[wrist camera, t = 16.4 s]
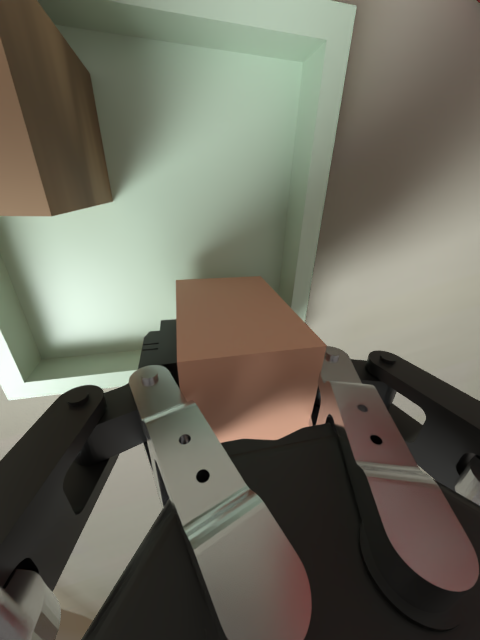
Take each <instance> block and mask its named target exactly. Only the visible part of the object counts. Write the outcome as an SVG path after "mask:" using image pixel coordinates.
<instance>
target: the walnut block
mask: <svg viewBox="0 0 480 640" xmlns="http://www.w3.org/2000/svg"><path fill="white" fill-rule="evenodd" d="M110 202H113V199H112V193H111V188H110V182H109V176H108V171H107V165H106V160H105V154H104V149H103V143H102V137H101V132H100V126H99V121H98V115H97V109H96V104H95V98H94V93H93V87H92V82H91V76H90V73H89V71H88V70H87V69H86V67H85V66H84V65H83V63H82V62H81V60H80V59H79V58H78V56H77V55H76V54H75V52H74V51H73V49H72V48H71V47H70V45H69V44H68V43H67V41H66V40H65V38H64V37H63V36H62V34H61V33H60V31H59V30H58V29H57V27H56V26H55V25H54V23H53V22H52V20H51V19H50V18H49V16H48V15H47V14H46V12H45V11H44V9H43V8H42V7H41V5H40V4H39V3H38V1H37V0H0V216H56V215H60V214H64V213H68V212H72V211H76V210H81V209H85V208H89V207H93V206H97V205H101V204H106V203H110Z"/></svg>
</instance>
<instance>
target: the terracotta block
mask: <svg viewBox="0 0 480 640" xmlns="http://www.w3.org/2000/svg"><path fill="white" fill-rule="evenodd" d="M176 329H177V367H178V376H179V386H180V390H181V392H182V394H183V396H184V397H185V399H186V401H187V402H188V401H190V400H193V401H194V402H195V403H196V405H197V406H198V408H199V409H200V411H201V413H202V414H203V416H204V417H205V419H206V421H207V422H208V424H209V425H210V427H211V429H212V430H213V432H214V434H215V435H216V437H217V438H218V440H219V442H220V443H222V442H227V441H233V440H238V439H262V440H278V439H280V438H282V437H284V436H286V435H289V434H291V433H293V432H295V431H297V430H299V429H301V428H304V427H309V419H310V415H311V414H312V411H313V406H314V402H315V397H316V393H317V388H318V379H319V374H320V372H321V370H322V365H323V361H324V356H325V352H326V347H327V345H326V344H325V343H324V342H323V341H322V340H321V339H320V338H319V337H318V336H317V335H316V334H315V333H314V332H313V331H312V330H311V329H310V328H309V327H308V325H307V324H306V323H305V322H304V321H303V320H302V319H301V318H300V317H299V316H298V315H297V314H296V313H295V312H294V311H293V310H292V309H291V308H290V307H289V305H288V304H287V303H286V302H285V301H284V300H283V299H282V298H281V297H280V296H279V295H278V294H277V293H276V292H275V291H274V290H273V289H272V288H271V287H270V285H269V284H268V283H267V282H266V281H265V280H264V279H263V278H262V277H261V276H253V277H230V278H208V279H185V280H176Z"/></svg>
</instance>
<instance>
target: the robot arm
mask: <svg viewBox="0 0 480 640" xmlns="http://www.w3.org/2000/svg"><path fill="white" fill-rule="evenodd" d="M396 392H399V393H400V394H402V395H403V396H405V397H406V398H408V399H409V400H411V401H412V402H414V403H415V404H417V405H418V406H419V407H421V408H422V409H423V411H424V412H425V414H426V421H425V423H424V425H422V424H420V423H419V422H417V421H416V420H415V419H413V418H412V417H410V416H409V415H408V414H406V413H405V412H403V411H402V410H401V409H399V408H398V407H396V406H395V405H394V404H392V402H393V399H394V397H395V394H396ZM141 443H142V444H143V447H144V450H145V453H146V456H147V459H148V462H149V465H150V468H151V471H152V475H153V478H154V481H155V485H156V488H157V492H158V496H159V499H160V503H161V506H162V511H161V513H160V514H159V516H158V517H157V519H156V521H155V522H154V524H153V525H152V527H151V529H150V530H149V532H148V533H147V535H146V537H145V538H144V540H143V541H142V543H141V545H140V546H139V548H138V549H137V551H136V553H135V554H134V556H133V557H132V559H131V561H130V562H129V564H128V566H127V567H126V569H125V570H124V572H123V574H122V575H121V577H120V578H119V580H118V582H117V583H116V585H115V586H114V588H113V590H112V591H111V593H110V594H109V596H108V598H107V599H106V601H105V602H104V604H103V606H102V607H101V609H100V610H99V612H98V614H97V615H96V617H95V618H94V620H93V622H92V623H91V625H90V627H89V629H88V630H87V631H86V633H85V635H84V636H83V638H82V639H81V640H480V401H478V400H477V399H475V398H473V397H471V396H469V395H467V394H466V393H464V392H462V391H460V390H458V389H457V388H455V387H453V386H451V385H449V384H448V383H446V382H444V381H442V380H440V379H438V378H437V377H435V376H433V375H431V374H429V373H428V372H426V371H424V370H422V369H420V368H419V367H417V366H415V365H413V364H411V363H409V362H408V361H406V360H404V359H402V358H400V357H399V356H397V355H395V354H392V353H389V352H385V351H373V352H371V353H370V354H369V356H368V359H367V361H364V360H353V359H350V358H349V356H348V354H347V353H345V352H344V351H343V350H341V349H338V348H335V347H331V346H327V347H326V352H325V356H324V361H323V365H322V370H321V372H320V374H319V379H318V388H317V393H316V397H315V402H314V406H313V411H312V414H311V415H310V419H309V427H304V428H301V429H299V430H297V431H295V432H293V433H291V434H289V435H286V436H284V437H282V438H280V439H278V440H262V439H238V440H233V441H227V442H222V443H220V442H219V440H218V438H217V437H216V435H215V434H214V432H213V430H212V429H211V427H210V425H209V424H208V422H207V421H206V419H205V417H204V416H203V414H202V413H201V411H200V409H199V408H198V406H197V405H196V403H195V402H194V401H193V400H190V401H188V402H187V401H186V399H185V397H184V396H183V394H182V392H181V390H180V386H179V376H178V367H177V329H176V319H171V320H161V323H160V331H150V332H149V333H148V334H147V335H146V336H145V337H144V340H143V346H142V351H141V355H140V361H139V366H138V370H136V371H135V372H134V373H133V374H132V375H131V376H130V378H129V383H128V384H126V385H124V386H122V387H120V388H117V389H115V390H112V391H109V392H106V393H103V390H102V389H101V388H100V387H98V386H95V385H83V386H79V387H76V388H73V389H71V390H69V391H67V392H65V393H64V394H62V395H61V396H60V397H59V398H58V399H57V400H56V401H55V402H54V403H53V404H52V405H51V406H50V407H49V408H48V409H47V410H46V412H45V413H44V414H43V415H42V416H41V417H40V418H39V419H38V420H37V421H36V423H35V424H34V425H33V426H32V427H31V428H30V429H29V430H28V431H27V432H26V433H25V435H24V436H23V437H22V438H21V439H20V440H19V441H18V442H17V443H16V444H15V446H14V447H13V448H12V449H11V450H10V451H9V452H8V453H7V454H6V455H5V456H4V458H3V459H2V460H1V461H0V640H55V638H56V635H57V632H58V629H59V624H60V616H61V612H60V605H59V601H58V600H57V598H56V596H55V595H54V594H53V590H54V588H55V586H56V584H57V582H58V579H59V577H60V575H61V573H62V571H63V569H64V567H65V565H66V563H67V561H68V559H69V557H70V555H71V553H72V551H73V549H74V547H75V545H76V542H77V540H78V538H79V536H80V534H81V532H82V530H83V528H84V526H85V524H86V522H87V520H88V518H89V516H90V514H91V512H92V510H93V508H94V505H95V503H96V501H97V499H98V497H99V495H100V493H101V491H102V489H103V487H104V485H105V483H106V481H107V479H108V477H109V475H110V473H111V471H112V469H113V466H114V464H115V462H116V460H117V458H118V456H119V453H122V452H124V451H126V450H128V449H130V448H133V447H135V446H137V445H139V444H141ZM418 465H419V466H420V467H421V468H422V469H423V470H424V471H426V472H427V473H428V474H429V475H430V476H432V477H433V478H434V479H435V480H434V479H432V478H431V477H430V476H429V475H427V474H425V473H423V472H422V471H421V470H420V468H419V467H418Z"/></svg>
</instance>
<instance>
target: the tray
mask: <svg viewBox="0 0 480 640" xmlns="http://www.w3.org/2000/svg"><path fill="white" fill-rule="evenodd" d="M37 1H38V3H39V4H40V5H41V7H42V8H43V9H44V11H45V12H46V14H47V15H48V16H49V18H50V19H51V20H52V22H53V23H54V25H55V26H56V27H57V29H58V30H59V31H60V33H61V34H62V36H63V37H64V38H65V40H66V41H67V43H68V44H69V45H70V47H71V48H72V49H73V51H74V52H75V54H76V55H77V56H78V58H79V59H80V60H81V62H82V63H83V65H84V66H85V67H86V69H87V70H88V71H89V73H90V76H91V82H92V87H93V93H94V98H95V104H96V109H97V115H98V121H99V126H100V132H101V137H102V143H103V149H104V154H105V160H106V165H107V171H108V176H109V182H110V188H111V193H112V199H113V202H110V203H106V204H101V205H97V206H93V207H89V208H85V209H81V210H76V211H72V212H68V213H64V214H60V215H56V216H0V385H1V387H2V389H3V391H4V392H5V394H6V396H7V398H8V400H16V399H24V398H32V397H40V396H48V395H56V394H64V393H65V392H67V391H69V390H71V389H73V388H76V387H79V386H83V385H95V386H98V387H100V388H101V389H104V388H112V387H120V386H124V385H126V384H128V383H129V378H130V376H131V375H132V374H133V373H134V372H135V371H136V370H138V366H139V361H140V355H141V351H142V346H143V340H144V337H145V336H146V335H147V334H148V333H149V332H150V331H160V323H161V320H171V319H176V280H185V279H208V278H230V277H253V276H261V277H262V278H263V279H264V280H265V281H266V282H267V283H268V284H269V285H270V287H271V288H272V289H273V290H274V291H275V292H276V293H277V294H278V295H279V296H280V297H281V298H282V299H283V300H284V301H285V302H286V303H287V304H288V305H289V307H290V308H291V309H292V310H293V311H294V312H295V313H296V314H297V315H298V316H299V317H300V318H301V319H302V320H303V321H304V322H305V318H306V312H307V306H308V300H309V294H310V288H311V282H312V275H313V269H314V263H315V257H316V251H317V245H318V239H319V233H320V227H321V221H322V215H323V209H324V202H325V196H326V190H327V184H328V178H329V172H330V166H331V160H332V154H333V148H334V142H335V136H336V129H337V123H338V117H339V111H340V105H341V99H342V93H343V87H344V81H345V75H346V69H347V63H348V56H349V50H350V44H351V38H352V32H353V26H354V20H355V14H356V8H357V6H355V5H351V4H346V3H341V2H337V1H332V0H37Z"/></svg>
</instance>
